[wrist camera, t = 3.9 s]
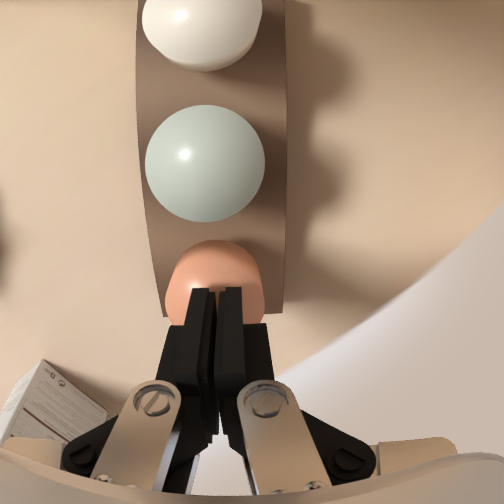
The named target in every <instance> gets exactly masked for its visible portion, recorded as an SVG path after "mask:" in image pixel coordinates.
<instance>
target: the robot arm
mask: <svg viewBox="0 0 504 504" xmlns="http://www.w3.org/2000/svg"><path fill="white" fill-rule="evenodd" d="M219 411H220V417H221V423H222V428H223V434H224V435H228V440H229V445H230V447H231V448H232V449H234V450H235V451H236V452H238V453H239V454H240V455H241V456H242V458H243V462H244V467H245V471H246V476H247V480H248V484H249V488H250V492H251V496H204V495H203V496H202V495H190V494H191V490H192V486H193V482H194V478H195V474H196V469H197V466H198V462H199V453H200V452H201V451H202V450H204V449H205V448H207V447H208V443H212V435H218V433H219ZM0 504H504V458H503V457H502V456H499V455H497V454H491V453H483V452H477V453H463V454H458V453H457V450H456V447H455V445H454V444H453V443H452V442H451V441H450V440H448V439H446V438H443V437H432V438H425V439H416V440H405V441H392V442H379V443H378V444H377V445H367V444H366V443H364V442H362V441H361V440H358V439H356V438H354V437H352V436H350V435H348V434H346V433H344V432H342V431H340V430H338V429H336V428H334V427H332V426H330V425H328V424H327V423H325V422H323V421H321V420H319V419H317V418H315V417H314V416H312V415H310V414H308V413H306V412H304V411H303V410H301V409H300V408H299V405H298V403H297V401H296V399H295V396H294V394H293V392H292V391H291V389H290V388H288V387H287V386H286V385H285V384H282V383H280V382H278V381H275V380H274V373H273V366H272V359H271V353H270V346H269V339H268V332H267V326H266V323H256V324H243V311H242V287H226V289H225V291H220V292H219V303H218V316H217V308H216V297H215V292H209V288H192V291H191V295H190V299H189V304H188V308H187V312H186V317H185V321H184V325H171V326H170V327H169V330H168V334H167V337H166V341H165V345H164V348H163V352H162V356H161V360H160V363H159V367H158V371H157V375H156V379H155V380H152V381H146V382H144V383H142V384H139V385H138V386H137V387H135V388H134V389H133V390H132V392H131V393H130V394H129V396H128V398H127V400H126V402H125V404H124V406H123V408H122V410H121V412H120V414H119V415H117V416H115V417H114V418H112V419H110V420H108V421H106V422H105V423H103V424H101V425H99V426H97V427H95V428H94V429H92V430H90V431H88V432H86V433H84V434H82V435H80V436H78V437H77V438H75V439H73V440H72V441H70V442H69V443H64V441H63V440H49V439H36V438H25V437H11V438H9V439H7V440H6V441H5V442H4V443H3V445H2V447H1V448H0Z"/></svg>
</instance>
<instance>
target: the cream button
mask: <svg viewBox="0 0 504 504" xmlns="http://www.w3.org/2000/svg"><path fill="white" fill-rule="evenodd" d="M261 15H262V1H261V0H147V1H146V3H145V5H144V9H143V13H142V25H143V30H144V32H145V35H146V37H147V38H148V40H149V41H150V43H151V44H152V45H153V46H154V47H155V48H156V49H158V50H159V51H160V52H161V53H162V54H163V55H164V56H165V57H166V58H167V59H169V60H170V61H171V62H172V63H174V64H175V65H177V66H179V67H181V68H184V69H187V70H191V71H199V72H207V71H214V70H218V69H222V68H225V67H227V66H229V65H231V64H233V63H235V62H236V61H238V60H239V59H240V58H242V57H243V56H244V55H245V54H246V53H247V52H248V50H249V49H250V48H251V46H252V44H253V43H254V40H255V37H256V34H257V30H258V27H259V23H260V20H261Z"/></svg>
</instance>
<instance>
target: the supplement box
mask: <svg viewBox="0 0 504 504" xmlns="http://www.w3.org/2000/svg"><path fill="white" fill-rule="evenodd" d="M107 414H108V412H107V411H106V410H105V409H104V408H102V407H101V406H100V405H98V404H97V403H96V402H94V401H93V400H92V399H90V398H89V397H88V396H86V395H85V394H84V393H83V392H81V391H80V390H79V389H78V388H76V387H75V386H74V385H73V384H72V383H70V382H69V381H68V380H67V379H66V378H64V377H63V376H62V375H61V374H60V373H58V372H57V371H56V370H55V369H54V368H53V367H52V366H50V365H49V364H48V363H47V362H46V361H44V360H41V361H40V362H39V363H38V364H36V365H35V366H34V367H33V368H32V369H31V370H29V371H28V372H27V373H26V374H25V375H24V376H23V377H22V378H21V379H20V380H19V381H17V383H16V385H15V387H14V388H13V390H12V392H11V394H10V396H9V397H8V399H7V401H6V403H5V405H4V407H3V409H2V411H1V413H0V448H1V447H2V445H3V443H4V442H5V441H6V440H7V439H9V438H11V437H25V438H36V439H49V440H63V441H64V443H69V442H70V441H72V440H73V439H75V438H77V437H78V436H80V435H82V434H84V433H86V432H88V431H90V430H92V429H94V428H95V427H97V426H99V425H101V424H103V423H105V421H106V417H107Z"/></svg>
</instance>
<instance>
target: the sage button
mask: <svg viewBox="0 0 504 504" xmlns="http://www.w3.org/2000/svg"><path fill="white" fill-rule="evenodd" d="M264 170H265V157H264V151H263V147H262V144H261V141H260V139H259V137H258V135H257V133H256V132H255V130H254V129H253V127H252V126H251V125H250V124H249V123H248V122H247V121H246V120H245V119H244V118H242V117H241V116H240V115H238V114H237V113H235V112H233V111H231V110H229V109H226V108H223V107H219V106H214V105H198V106H192V107H188V108H185V109H182V110H180V111H178V112H176V113H174V114H173V115H171V116H170V117H168V118H167V119H166V120H165V121H164V122H163V123H162V124H161V125H160V126H159V127H158V128H157V130H156V131H155V132H154V134H153V136H152V138H151V140H150V142H149V145H148V148H147V152H146V157H145V171H146V177H147V181H148V184H149V186H150V189H151V191H152V193H153V194H154V196H155V197H156V199H157V200H158V201H159V202H160V204H161V205H163V206H164V207H165V208H166V209H167V210H168V211H170V212H171V213H173V214H175V215H176V216H178V217H181V218H183V219H186V220H190V221H194V222H215V221H219V220H223V219H226V218H228V217H230V216H232V215H234V214H236V213H238V212H239V211H240V210H242V209H243V208H244V207H245V206H246V205H248V204H249V202H250V201H251V200H252V199H253V198H254V196H255V195H256V193H257V191H258V189H259V187H260V185H261V182H262V179H263V175H264Z"/></svg>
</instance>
